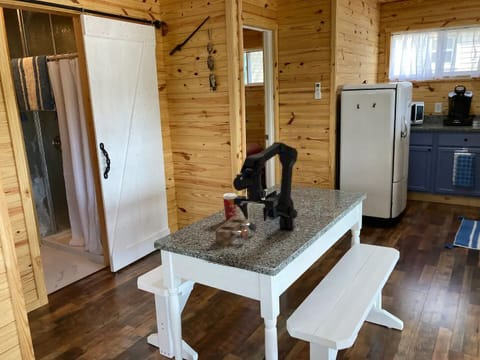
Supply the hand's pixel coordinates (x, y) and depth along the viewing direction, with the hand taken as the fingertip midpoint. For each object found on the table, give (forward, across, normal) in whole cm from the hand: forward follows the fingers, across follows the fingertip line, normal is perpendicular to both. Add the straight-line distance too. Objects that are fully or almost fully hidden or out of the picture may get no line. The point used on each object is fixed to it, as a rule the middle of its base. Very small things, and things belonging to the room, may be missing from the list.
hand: (256, 220), depth 173 cm
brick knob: (+9, +9, 0) cm, 13 cm away
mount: (+11, +15, -5) cm, 19 cm away
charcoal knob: (+9, +9, -10) cm, 16 cm away
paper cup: (+11, +25, -26) cm, 37 cm away
